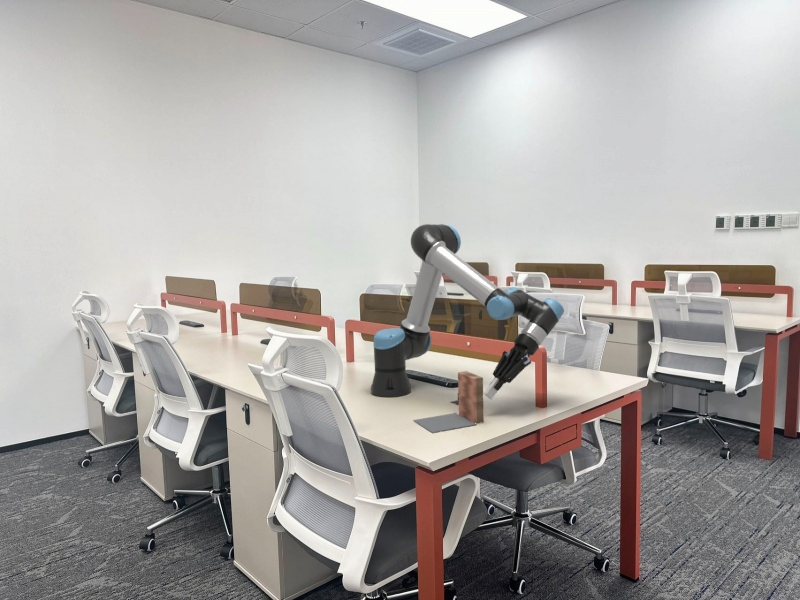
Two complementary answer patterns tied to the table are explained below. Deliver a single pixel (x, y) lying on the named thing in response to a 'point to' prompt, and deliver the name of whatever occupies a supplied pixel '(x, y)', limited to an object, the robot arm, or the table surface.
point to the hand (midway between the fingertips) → (487, 396)
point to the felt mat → (444, 422)
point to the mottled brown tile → (470, 396)
